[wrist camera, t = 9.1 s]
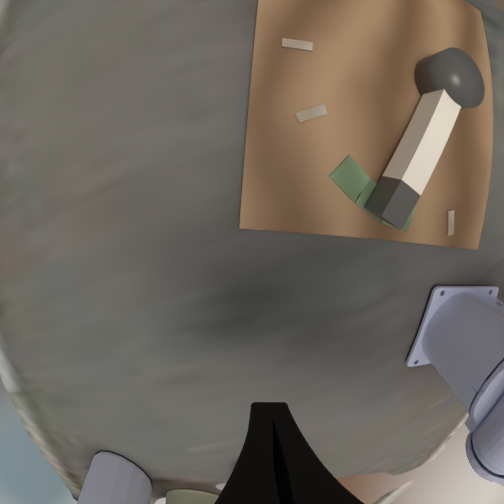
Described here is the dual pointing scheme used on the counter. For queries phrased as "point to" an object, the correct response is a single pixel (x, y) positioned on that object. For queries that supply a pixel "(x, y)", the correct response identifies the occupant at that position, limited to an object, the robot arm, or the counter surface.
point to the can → (190, 497)
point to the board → (359, 119)
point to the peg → (426, 131)
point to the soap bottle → (115, 482)
